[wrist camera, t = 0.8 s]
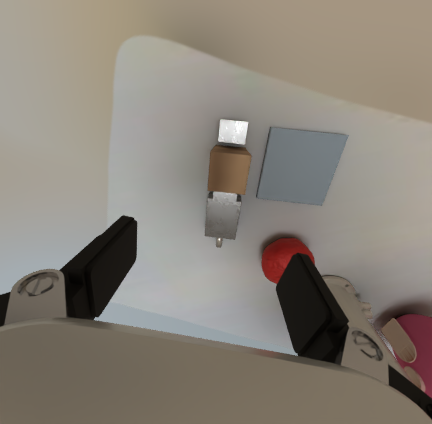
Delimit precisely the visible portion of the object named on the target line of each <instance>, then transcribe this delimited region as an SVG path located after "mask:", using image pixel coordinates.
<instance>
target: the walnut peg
mask: <svg viewBox="0 0 432 424" xmlns="http://www.w3.org/2000/svg"><path fill="white" fill-rule="evenodd" d="M250 162H251V155H250V153H249V152H248V151H247V149H246V148H243V147H233V146H224V145H216V146H215V147H214V148H213V149H212V150H211V152H210V165H209V178H208V191H216V192H225V193H234V194H242V195H245V191H246V185H247V179H248V174H249V168H250Z"/></svg>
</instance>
